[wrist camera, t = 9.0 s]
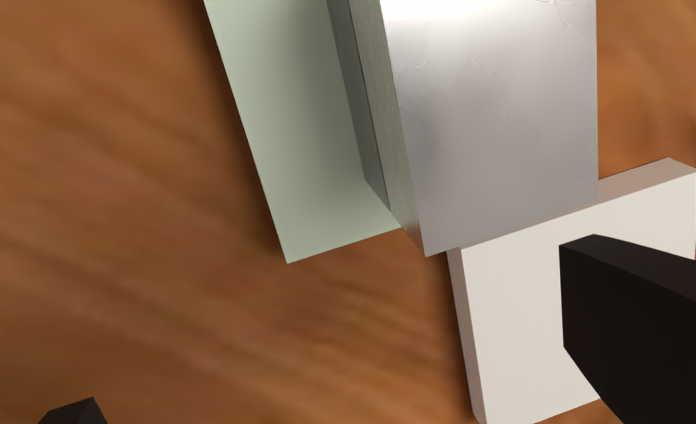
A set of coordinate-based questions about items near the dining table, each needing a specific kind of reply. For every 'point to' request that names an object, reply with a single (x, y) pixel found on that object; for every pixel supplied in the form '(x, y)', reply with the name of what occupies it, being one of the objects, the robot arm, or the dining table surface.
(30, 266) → the dining table surface
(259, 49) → the stand
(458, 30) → the block
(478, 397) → the stand
